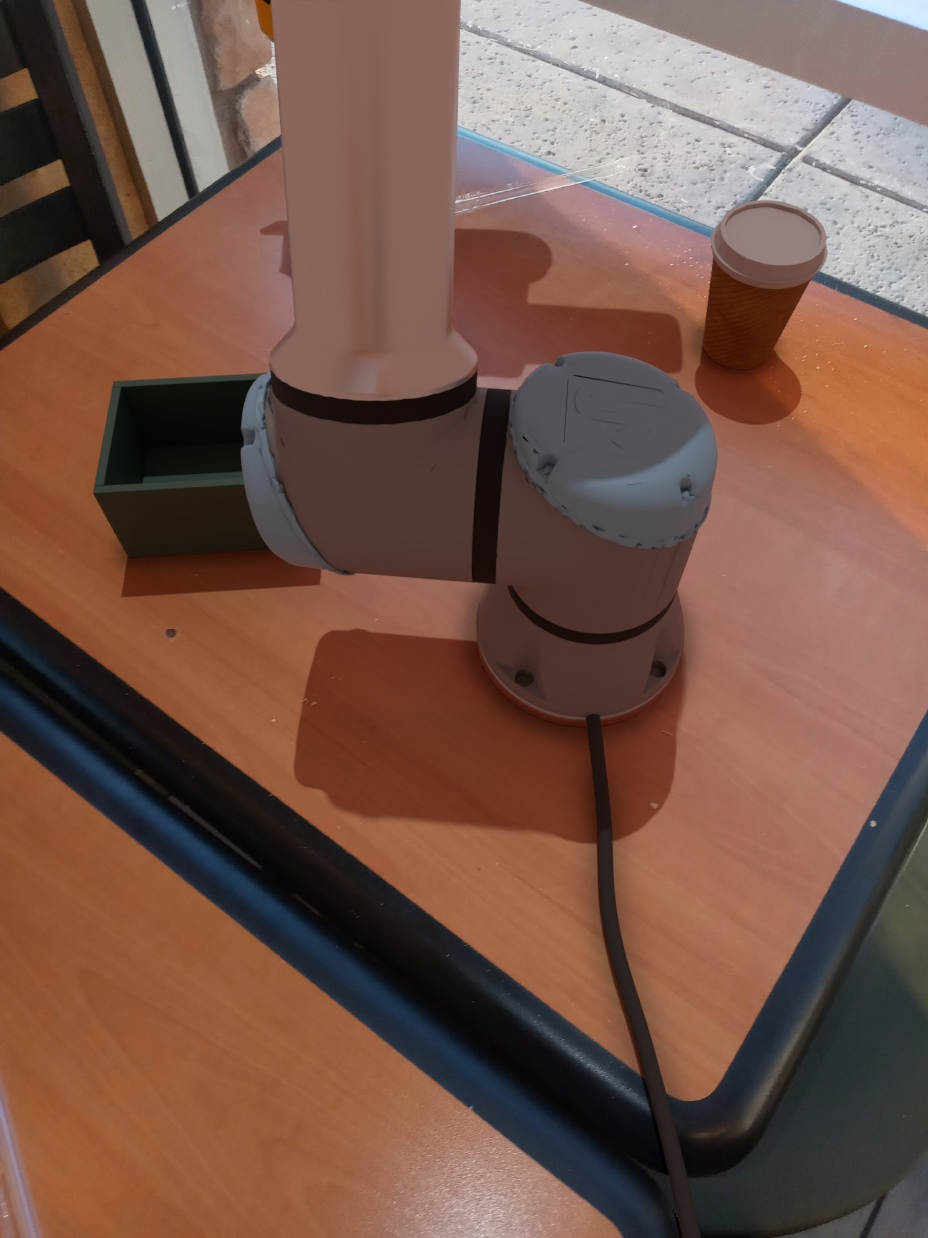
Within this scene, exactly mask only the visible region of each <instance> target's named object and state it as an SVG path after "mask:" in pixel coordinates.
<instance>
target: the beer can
mask: <svg viewBox="0 0 928 1238" xmlns="http://www.w3.org/2000/svg"><path fill="white" fill-rule="evenodd" d="M254 3H255V9H256V14H257V20H258V24H259V29H260V31H261V32H262V33H263V34H264V35H265V36H267V37H266V38H267V39H268V40H269V41H270V42H271V43H273V44H274V36H273V23H272V9H271V3H270V5H268V4H267V3H266V2H264V1H263V0H254Z"/></svg>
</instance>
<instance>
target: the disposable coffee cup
mask: <svg viewBox="0 0 928 1238" xmlns="http://www.w3.org/2000/svg"><path fill="white" fill-rule="evenodd" d="M824 227H825V226H824V225H823V223H821V222H820V220H819V219H818V218H817V217H816V216H815V215H813V214H812V213H810V212H809V211H807V210H805V209H803V208H801V207H799V206H798V205H794V204H792V203H788V202H784V201H779V200H773V199H772V200H771V199H759V200H750V201H746V202H743V203H740V204H738V205H736V206H733V207H731V208H730V209H729V210H728V211H727V212H725V214H724V215H723V217H722V218H721V220H720V221H719V222H718V223H717V224H716V226H715V227H714V229H713V230H712V233H711V237H710V248H711V252H712V261H711V263H712V264H711V269H710V270H711V271H710V278H709V288H708V294H707V295H708V296H707V306H706V313H705V321H704V329H703V337H702V348H703V350H704V352H705V353H706V355H707V356H708V357H709V358H710V359H711V360H712V361H714V362H715V363H717V364H719V365H721V366H723V367H726V368H728V369H729V368H730V369H734V370H750V369H754V368H757V367H760V366H761V365H764V363H766V361H767V360H768V359H769V358H770V356H771V354H772V353H773V350H774V349H775V347H776V345H777V343H778V341H779V339H780V338H781V335H783V331H784V330H785V328H786V327H787V325H788V323H789V321H790V319H791V318H792V315H793V313H794V312H795V310H796V308H797V307H798V304H799V302H800V301H801V299H802V297H803V295H804V293H805V291H806V289H807V288H808V286H809V284H810V282H811V280H812V279H813V278H814V277H815V276H816V275H817V274H818V273H819V272H820V271H821V270H822V268H823V267H824V265H825V264H826V262H827V258H828V254H829V253H828V246H827V238H828V237H827V233H826V230H825V228H824Z"/></svg>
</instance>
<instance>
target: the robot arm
mask: <svg viewBox="0 0 928 1238" xmlns="http://www.w3.org/2000/svg"><path fill="white" fill-rule="evenodd" d="M263 1H264V2H266V3H267V4H268V5H270V3H271V9H272V23H273V36H274V43H273V49H274V61H275V62H274V63H275V74H276V76H275V77H276V88H277V89H276V91H277V102H278V103H277V104H278V114H279V117H278V118H279V130H280V143H281V156H282V169H283V181H284V182H283V183H284V197H285V208H286V221H287V222H286V223H287V238H288V251H289V262H290V263H289V264H290V275H291V288H292V289H291V291H292V303H293V316H294V317H293V318H294V321H293V325H292V326H291V328H290V329H289V330H288V331H287V332H286V333H285V334H284V335H283V337H281V339H280V340H279V341H278V342H277V343H276V344H275V345H274V346H273V347H272V349H271V350H270V352H269V363H268V364H269V371H268V372H266V373H267V374H263V375H261V376H260V377H258V378H257V380H256V381H255V382H254V383H253V384H252V386H251V387H250V389H249V391H248V393H247V396H246V399H245V403H244V408H243V413H242V424H241V431H242V434H243V437H244V447H242V448H241V464H242V473H243V480H244V486H245V490H246V495H247V499H248V503H249V506H250V510H251V513H252V516H253V519H254V522H255V525H256V527H257V529H258V531H259V533H260V535H261V537H262V539H263V540H264V542H265V543H266V545H267V546H268V547H269V549H268V550H270V551H271V552H272V553H273V554H274V555H275V556H277V557H279V558H280V559H282V560H283V561H284V562H286V563H288V564H290V565H293V566H296V567H300V568H309V569H316V570H323V571H324V570H325V571H328V572H332V573H335V574H337V575H339V576H355V575H356V574H361V575H373V576H385V577H398V578H411V579H412V578H413V579H422V580H433V581H445V582H446V581H447V582H460V583H471V584H472V583H476V584H477V583H479V584H486V586H485V587H484V589H483V592H482V595H481V597H480V600H479V603H478V606H477V607H478V608H477V612H476V621H475V622H476V630H475V631H476V634H475V635H476V645H477V651H478V655H479V659H480V661H481V664H482V666H483V668H484V670H485V672H486V674H487V676H488V677H489V679H490V681H491V682H492V683H493V685H494V686H495V687H496V688H497V690H498V691H499V692H500V693H502V695H503V696H504V697H505V698H507V699H508V701H510V702H511V703H512V704H514V705H515V706H517V707H518V708H519V709H521V710H522V711H524V712H526V713H528V714H529V715H531V716H534V717H536V718H538V719H541V720H544V721H547V722H549V723H553V724H557V725H561V726H569V727H577V728H578V727H579V728H586V732H587V740H588V749H589V758H590V768H591V776H592V785H593V794H594V802H595V803H594V804H595V815H596V816H595V818H596V831H597V832H596V833H597V875H598V889H599V890H598V892H599V893H598V894H599V902H600V911H601V918H602V924H603V930H604V935H605V940H606V945H607V950H608V955H609V958H610V962H611V965H612V969H613V973H614V976H615V980H616V983H617V986H618V987H617V988H618V989H619V990H618V991H619V993H620V996H621V999H622V1002H623V1006H624V1009H625V1012H626V1015H627V1018H628V1022H629V1025H630V1030H631V1032H632V1035H633V1039H634V1042H635V1046H636V1050H637V1054H638V1057H639V1061H640V1066H641V1069H642V1073H643V1076H644V1082H645V1085H646V1088H647V1092H648V1096H649V1100H650V1105H651V1107H652V1111H653V1115H654V1120H655V1124H656V1127H657V1131H658V1136H659V1140H660V1143H661V1147H662V1150H663V1151H662V1152H663V1156H664V1160H665V1165H666V1168H667V1173H668V1177H669V1183H670V1187H671V1192H672V1196H673V1201H674V1205H675V1210H676V1215H677V1219H678V1224H679V1230H680V1233H681V1238H702V1236H701V1232H700V1226H699V1223H698V1218H697V1213H696V1209H695V1204H694V1200H693V1195H692V1190H691V1186H690V1182H689V1178H688V1173H687V1169H686V1165H685V1161H684V1157H683V1153H682V1149H681V1145H680V1140H679V1137H678V1133H677V1129H676V1124H675V1120H674V1118H673V1113H672V1110H671V1105H670V1102H669V1098H668V1094H667V1091H666V1087H665V1083H664V1080H663V1079H664V1078H663V1076H662V1071H661V1068H660V1064H659V1059H658V1058H657V1053H656V1049H655V1045H654V1043H653V1038H652V1036H651V1031H650V1028H649V1025H648V1022H647V1018H646V1016H645V1012H644V1009H643V1006H642V1003H641V1000H640V997H639V993H638V990H637V988H636V984H635V981H634V978H633V974H632V971H631V967H630V964H629V961H628V958H627V953H626V950H625V946H624V941H623V936H622V931H621V926H620V921H619V920H620V919H619V913H618V907H617V900H616V899H617V898H616V889H615V873H614V842H613V841H614V840H613V824H612V823H613V821H612V810H611V809H612V808H611V799H610V790H609V781H608V780H609V779H608V774H607V764H606V755H605V747H604V739H603V730H602V727H603V726H607V725H612V724H616V723H619V722H623V721H625V720H627V719H629V718H632V717H634V716H636V715H637V714H639V713H642V712H643V711H644V710H646V709H647V708H649V707H650V706H651V705H653V703H655V702H656V701H657V700H658V699H659V698H660V696H662V695H663V693H664V692H665V690H666V689H667V688H668V687H669V685H670V684H671V682H672V681H673V679H674V676H675V674H676V671H677V669H678V667H679V664H680V662H681V659H682V655H683V651H684V647H685V646H684V645H685V617H684V613H683V609H682V608H683V607H682V605H681V604H682V603H681V600H680V595H679V591H678V588H679V586H680V583H681V580H682V577H683V574H684V572H685V569H686V566H687V564H688V561H689V558H690V555H691V552H692V549H693V546H694V544H695V541H696V539H697V536H698V533H699V530H700V529H701V528H702V525H703V524H704V523H705V521H706V519H707V518H708V515H709V512H710V509H711V504H712V495H713V493H712V492H713V487H714V483H715V479H716V473H717V469H718V468H717V467H718V461H719V460H718V459H719V458H718V457H719V455H718V453H719V452H718V443H717V438H716V435H715V431H714V428H713V426H712V423H711V421H710V419H709V417H708V415H707V413H706V411H705V409H704V408H703V406H702V405H701V404H700V403H699V401H698V400H697V398H695V396H694V395H692V394H691V393H689V392H687V391H686V390H684V389H682V388H681V386H680V384H679V382H678V381H677V380H676V379H675V378H674V377H673V376H671V375H670V374H668V373H667V372H666V371H663V370H662V369H660V368H658V367H657V366H655V365H652V364H650V363H649V362H645V361H643V360H640V359H638V358H635V357H631V356H628V355H624V354H619V353H615V352H609V351H595V350H594V351H593V350H591V351H590V350H589V351H578V352H571V353H567V354H563V355H560V356H559V355H558V357H557V358H556V360H555V362H554V363H553V364H551V363H549V362H545V363H542V364H541V365H539V366H537V367H536V368H534V370H533V371H531V372H530V373H529V374H528V375H527V376H526V377H525V378H524V380H523V381H522V384H521V385H520V386H518V389H511V388H509V389H508V388H507V389H506V388H494V387H493V388H492V387H484V386H483V387H481V386H478V368H479V357H478V354H477V351H476V350H475V349H474V348H473V346H472V345H471V344H470V343H469V342H468V341H467V339H465V338H464V337H463V335H461V333H460V332H458V330H457V329H456V328H455V327H454V324H453V305H454V303H453V302H454V271H455V270H454V267H455V265H454V264H455V232H456V230H455V229H456V197H457V196H456V193H457V159H458V158H457V155H458V124H459V123H458V121H459V89H460V88H459V87H460V86H459V84H460V83H459V81H460V51H461V50H460V48H461V46H460V45H461V14H462V13H461V11H462V0H263Z"/></svg>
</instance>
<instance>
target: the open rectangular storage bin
mask: <svg viewBox="0 0 928 1238" xmlns="http://www.w3.org/2000/svg"><path fill="white" fill-rule="evenodd" d="M267 373H268V372H257V373H237V374H236V373H235V374H221V375H220V374H218V375H203V376H202V375H201V376H199V375H198V376H186V377H185V376H183V377H169V378H168V377H165V378H146V379H127V380H114V381H113V382H112V387H111V391H110V392H111V393H110V398H109V404H108V409H107V414H106V418H105V419H106V420H105V425H104V431H103V435H102V441H101V447H100V451H99V457H98V462H97V469H96V474H95V479H94V484H93V489H92V490H93V491H92V495H93V496H94V498H95V500H96V502H97V504H98V505H99V507H100V509H101V511H102V512H103V514H104V516H105V518H106V520H107V522H108V524H109V525H110V527H111V530H112V531H113V533H114V534H115V536H116V538H117V540H118V541H119V544H120V545H121V547H122V549H123V550H124V552H125V554H126V556H127V558H145V557H146V558H147V557H160V556H161V557H162V556H176V555H177V556H179V555H192V554H208V553H209V554H210V553H226V552H243V551H259V550H261V551H262V550H270V549H269V547H268V546H267V545H266V543H265V542H264V540H263V539H262V537H261V535H260V533H259V531H258V529H257V527H256V525H255V522H254V519H253V516H252V513H251V510H250V506H249V503H248V499H247V495H246V490H245V486H244V480H243V473H242V464H241V448H242V447H244V437H243V434H242V431H241V424H242V413H243V408H244V403H245V399H246V396H247V393H248V391H249V389H250V387H251V386H252V384H253V383H254V382H255V381H256V380H257V378H258V377H260V376H261V375H263V374H267Z"/></svg>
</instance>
